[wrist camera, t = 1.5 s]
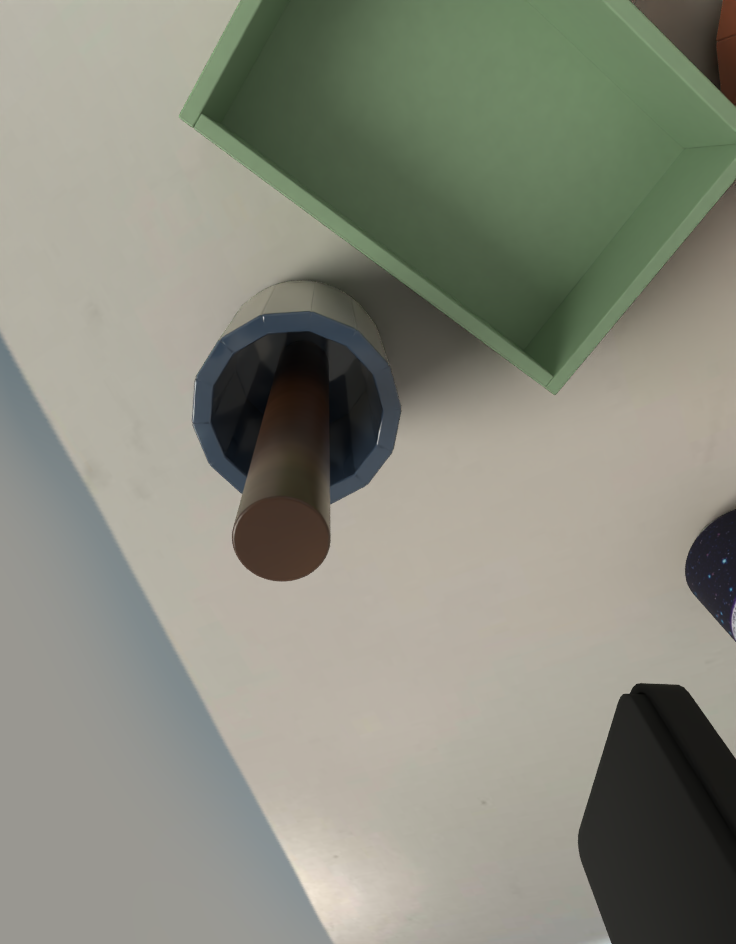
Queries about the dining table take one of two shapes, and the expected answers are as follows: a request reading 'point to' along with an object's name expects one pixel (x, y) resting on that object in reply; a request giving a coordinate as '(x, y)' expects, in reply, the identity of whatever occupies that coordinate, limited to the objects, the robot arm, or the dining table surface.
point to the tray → (480, 151)
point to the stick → (289, 473)
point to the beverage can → (715, 570)
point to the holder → (253, 368)
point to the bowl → (727, 49)
